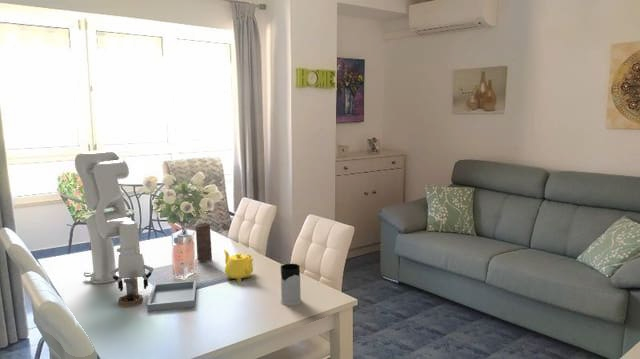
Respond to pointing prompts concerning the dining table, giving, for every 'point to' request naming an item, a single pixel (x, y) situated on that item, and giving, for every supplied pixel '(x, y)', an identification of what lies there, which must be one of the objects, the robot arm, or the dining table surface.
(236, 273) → the teapot
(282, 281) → the glass holder
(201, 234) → the candle
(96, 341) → the dining table surface
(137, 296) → the ring
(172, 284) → the tray
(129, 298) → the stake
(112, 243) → the robot arm
